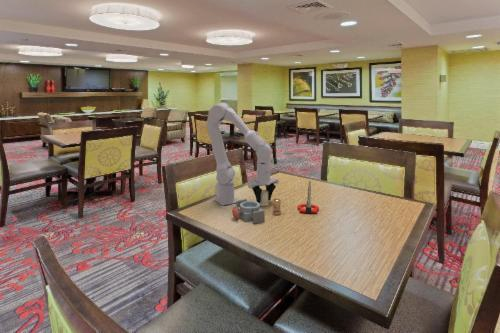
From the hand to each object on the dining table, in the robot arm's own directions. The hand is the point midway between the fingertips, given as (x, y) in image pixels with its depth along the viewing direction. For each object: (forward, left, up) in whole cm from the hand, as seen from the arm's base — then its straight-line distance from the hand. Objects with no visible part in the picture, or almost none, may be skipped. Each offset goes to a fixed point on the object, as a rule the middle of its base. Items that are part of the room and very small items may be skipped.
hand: (263, 201), depth 144 cm
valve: (+9, -13, -1) cm, 16 cm away
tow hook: (+15, +13, -2) cm, 20 cm away
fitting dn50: (0, 0, -1) cm, 1 cm away
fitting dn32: (+12, -1, -1) cm, 12 cm away
